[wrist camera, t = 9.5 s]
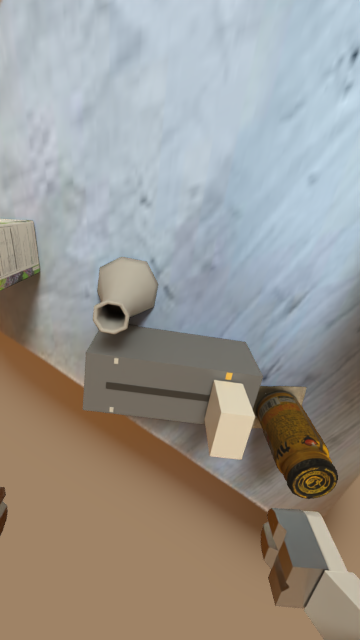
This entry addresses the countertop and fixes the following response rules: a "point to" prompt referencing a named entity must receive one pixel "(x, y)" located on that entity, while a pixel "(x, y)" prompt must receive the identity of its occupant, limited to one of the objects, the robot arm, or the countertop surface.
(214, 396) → the fader
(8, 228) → the syrup box
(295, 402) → the condiment
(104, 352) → the console
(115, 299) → the flask
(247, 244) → the countertop surface
